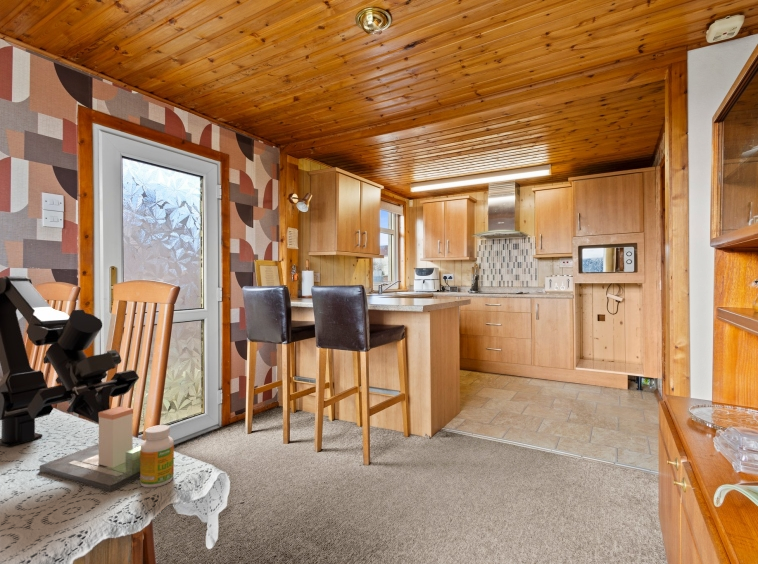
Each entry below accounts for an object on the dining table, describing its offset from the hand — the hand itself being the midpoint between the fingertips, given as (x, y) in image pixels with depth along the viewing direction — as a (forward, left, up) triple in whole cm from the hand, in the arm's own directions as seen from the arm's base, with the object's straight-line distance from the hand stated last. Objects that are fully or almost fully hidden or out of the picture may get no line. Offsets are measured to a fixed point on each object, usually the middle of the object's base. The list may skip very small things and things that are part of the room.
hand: (108, 424), depth 79 cm
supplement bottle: (+14, 0, -9) cm, 17 cm away
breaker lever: (+2, 0, -7) cm, 7 cm away
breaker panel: (0, -1, -8) cm, 8 cm away
